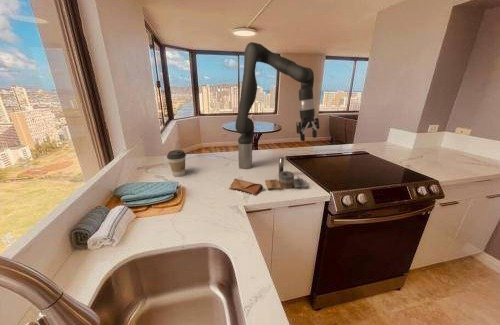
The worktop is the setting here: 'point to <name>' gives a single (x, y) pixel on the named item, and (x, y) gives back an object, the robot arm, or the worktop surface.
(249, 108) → the robot arm
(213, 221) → the worktop surface
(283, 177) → the hinge leaves
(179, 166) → the coffee cup
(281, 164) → the hinge pin
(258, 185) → the sunglasses case
